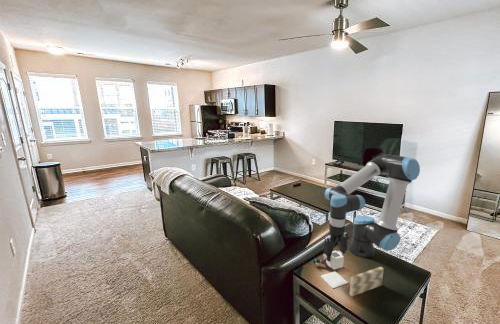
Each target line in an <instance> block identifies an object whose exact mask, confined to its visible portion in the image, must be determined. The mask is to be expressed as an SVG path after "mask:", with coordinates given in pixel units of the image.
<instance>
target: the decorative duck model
mask: <svg viewBox="0 0 500 324" xmlns="http://www.w3.org/2000/svg"><path fill="white" fill-rule="evenodd" d="M326 260H327V256H326V255H325V254H324V253H323V254H322V259H317V258H314V259H312V263H313V264H315V265H317V266H318V267H319V264H322V265H324V266H326V267H329V266H328V265H327V263H326Z"/></svg>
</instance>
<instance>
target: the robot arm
mask: <svg viewBox="0 0 500 324" xmlns="http://www.w3.org/2000/svg"><path fill="white" fill-rule="evenodd" d="M420 166H421V165H420V163H419V161H418V159H415V158H413V157H408V156H401V155H394V154H383V155H380V156H377V157H375V158H373V159H371V160H369V161H368V162H367V163H366V164H365V166H364V167H362V168H360V170H358V171H357V172H355V173H354V174H352V175H351V176H349V177H348V178H347V179H345V180H344V181H342V182H341V183H340V184H338V185H337V186H336V187H327V188H326V189H325V191H324V197H325V199H326V200H328V201H330V203H329V205H330V209H329V227H328V228H329V229H328V230H329V235H328V236H323V237H324V238H323V239H324V244H323V246H324V247H323V254H325V255H326V256H327V265H328V266H327V267H329V268H330V269H332V251H334V247H335V245H336V244H337V245H338V250H337V252H339V253H340V254H341V255H342V256H344V254H346V252H347V251H348V249H349V251H350V253H352V254H353V255H356V256H357V257H362V258H372V257H374V255H375V253H376V251H375V246H374V245H376V246H378V247H379V248H380V249H382V250H384V251H390V252H391V251H392V250H394V249H395V248H397V247H398V245H400V242H401V235H400V234H399V232H398V231H399V229H398V227H397V223H398V219H399V216H400V212H401V209H402V205H403V201H404V199H405V194H406V192H407V191H406V190H407V187H408V185H410V184H412V181H414V180H417V178H418V177H419V176H420V171H421V167H420ZM382 174H387V175H388V176H387V179H388V180H389V183H388V186H387V189H386V194H385V197H384V201H383V205H382V209H381V211H380V214H379V215H380V216H379V219H378V220H375V218H374V217H372V216H368V215H358V216H356V217H354V218H353V223H352V224H353V228H352V238H351V240H350V243H348V237H349V234H348V233H347V232H346V231H345V230H346V217H347V213H350V212H354V211H355V212H356V211H359V210H362V209H364V208H365V206H366V200H365V198H364V197H363V196H362V195H359V194H355V195H353V194H352V193H353V192H355V191H356V190H357V189H359V188H360V187H361V186H364V184H365V183H367V182H369V181H370V180H371V179H372V178H374V177H378V176H380V175H382Z"/></svg>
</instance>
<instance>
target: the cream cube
mask: <svg viewBox="0 0 500 324" xmlns="http://www.w3.org/2000/svg"><path fill="white" fill-rule="evenodd" d="M344 261H345V256H344V255H343V256H342V255H341V254H340V253H339V252H338V250H333V251H332V267H331V269H332V270H337V269H341V268H343V267H344ZM326 263H327V260H326Z"/></svg>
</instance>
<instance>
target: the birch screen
mask: <svg viewBox="0 0 500 324" xmlns="http://www.w3.org/2000/svg"><path fill="white" fill-rule="evenodd" d="M384 269H385V268H384V267H382V266H378V267H375V268H373V269H369V270H366V271H363V272H361V273H357V274H355V275H352V276H350V280H349V281H350V282H349V296H350V297H355V296H357V295H359V294H363V293H365V292H367V291H370V290H373V289H375V288H379V287H381V286H382V285H383V280H384V279H383V278H384V277H383V276H384Z"/></svg>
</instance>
